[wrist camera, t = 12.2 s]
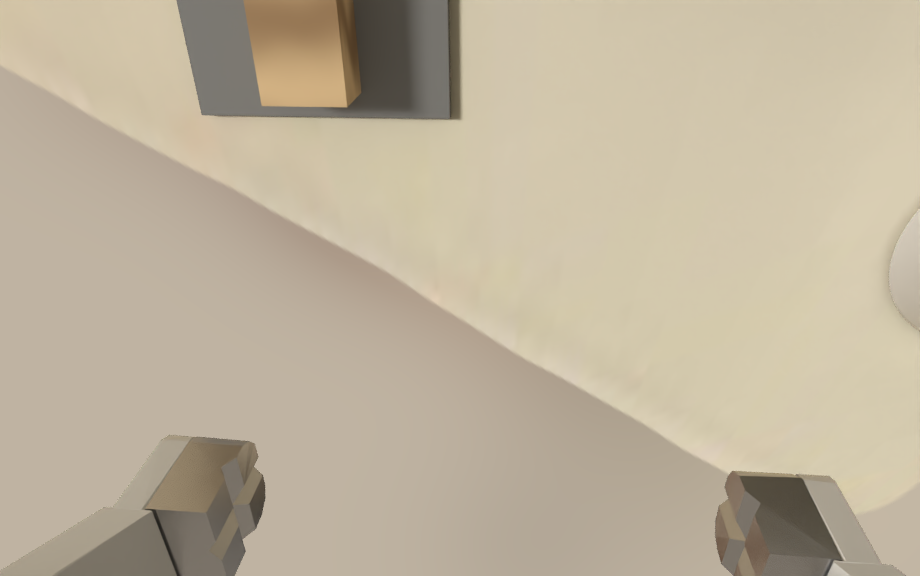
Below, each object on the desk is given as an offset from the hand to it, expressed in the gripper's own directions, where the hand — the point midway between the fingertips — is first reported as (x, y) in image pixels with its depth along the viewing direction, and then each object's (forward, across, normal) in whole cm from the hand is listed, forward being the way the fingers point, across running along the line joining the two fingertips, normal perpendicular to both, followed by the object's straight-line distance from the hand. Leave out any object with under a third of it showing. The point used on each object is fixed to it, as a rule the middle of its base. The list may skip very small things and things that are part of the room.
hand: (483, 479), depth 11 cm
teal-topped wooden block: (+30, -12, +4) cm, 33 cm away
